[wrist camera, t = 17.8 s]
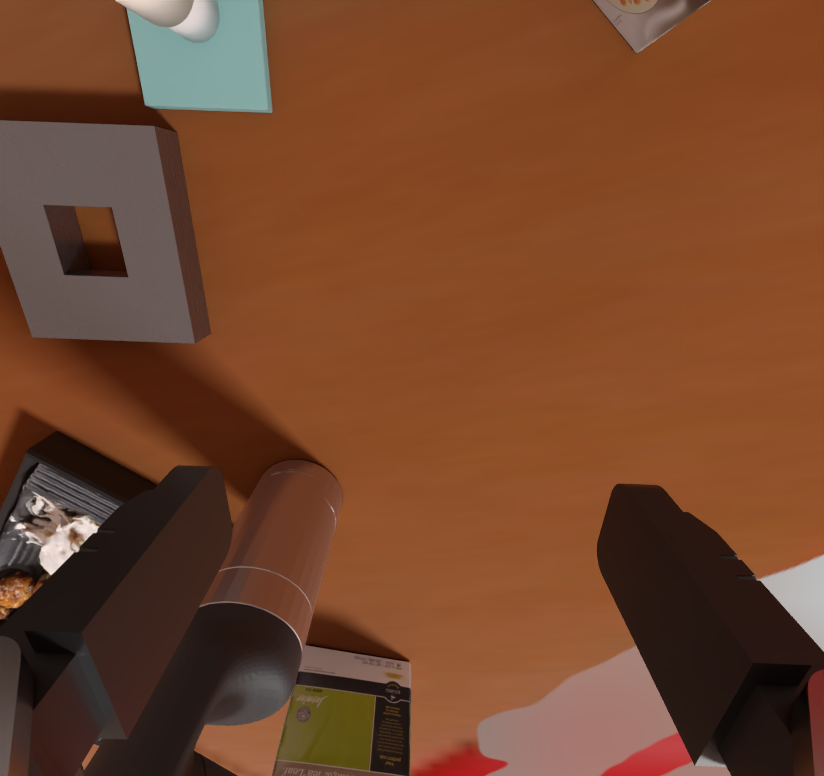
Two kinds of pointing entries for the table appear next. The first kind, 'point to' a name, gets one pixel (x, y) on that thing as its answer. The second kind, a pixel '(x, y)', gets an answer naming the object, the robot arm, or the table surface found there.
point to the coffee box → (646, 17)
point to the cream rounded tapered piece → (180, 16)
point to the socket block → (135, 220)
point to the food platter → (55, 513)
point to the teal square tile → (206, 63)
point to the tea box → (347, 717)
